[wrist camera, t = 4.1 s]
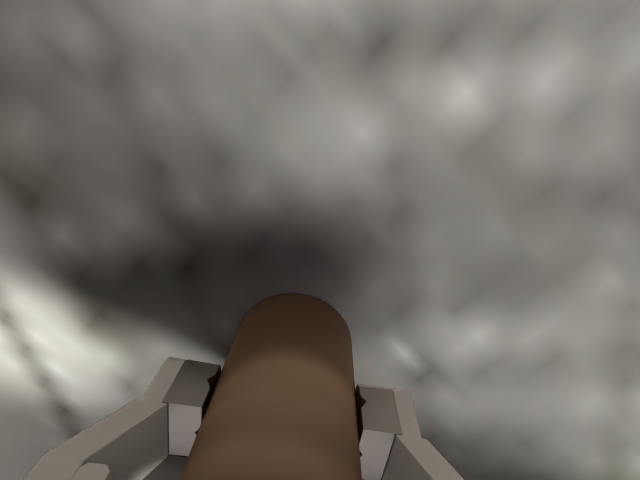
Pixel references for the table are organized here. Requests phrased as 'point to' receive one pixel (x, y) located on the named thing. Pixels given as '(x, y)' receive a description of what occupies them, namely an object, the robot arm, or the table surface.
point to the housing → (168, 469)
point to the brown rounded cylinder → (282, 399)
